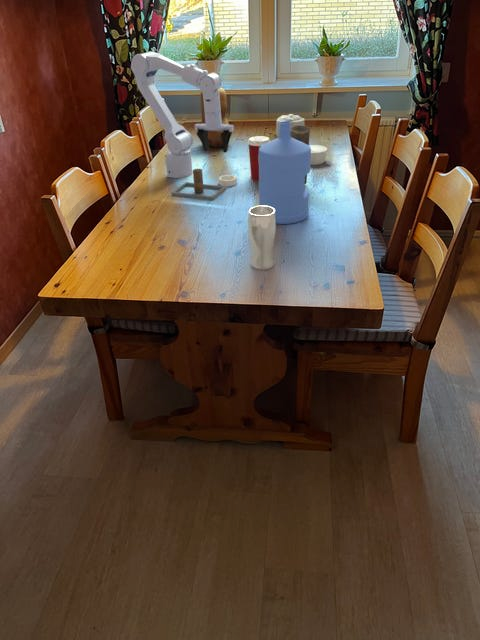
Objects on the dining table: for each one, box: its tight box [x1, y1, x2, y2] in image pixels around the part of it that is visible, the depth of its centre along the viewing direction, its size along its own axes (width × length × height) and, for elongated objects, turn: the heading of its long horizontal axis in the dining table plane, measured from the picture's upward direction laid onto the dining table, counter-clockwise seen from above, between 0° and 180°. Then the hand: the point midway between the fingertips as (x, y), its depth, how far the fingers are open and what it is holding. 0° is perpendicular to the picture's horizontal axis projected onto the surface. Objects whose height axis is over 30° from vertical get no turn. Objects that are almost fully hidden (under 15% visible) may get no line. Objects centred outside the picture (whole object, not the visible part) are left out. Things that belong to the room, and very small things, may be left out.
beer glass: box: [247, 205, 277, 271], centre depth 126 cm, size 7×7×15 cm
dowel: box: [192, 168, 205, 195], centre depth 172 cm, size 3×3×8 cm
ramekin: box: [309, 144, 329, 166], centre depth 200 cm, size 11×11×5 cm
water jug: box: [258, 121, 311, 225], centre depth 149 cm, size 16×16×28 cm
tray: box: [171, 181, 227, 201], centre depth 174 cm, size 16×11×2 cm
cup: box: [218, 174, 238, 187], centre depth 181 cm, size 6×6×3 cm
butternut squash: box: [200, 87, 230, 149], centre depth 218 cm, size 14×13×25 cm
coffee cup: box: [247, 135, 271, 182], centre depth 181 cm, size 8×8×15 cm
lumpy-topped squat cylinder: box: [275, 113, 306, 138], centre depth 234 cm, size 10×13×9 cm
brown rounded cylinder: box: [290, 125, 311, 185], centre depth 173 cm, size 8×7×20 cm
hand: (216, 151), depth 181 cm, fingers open, 7 cm apart
